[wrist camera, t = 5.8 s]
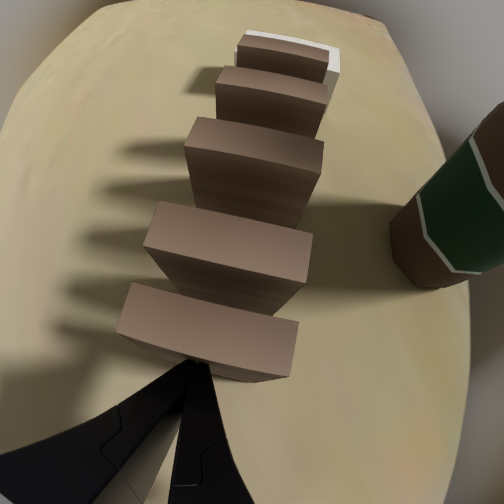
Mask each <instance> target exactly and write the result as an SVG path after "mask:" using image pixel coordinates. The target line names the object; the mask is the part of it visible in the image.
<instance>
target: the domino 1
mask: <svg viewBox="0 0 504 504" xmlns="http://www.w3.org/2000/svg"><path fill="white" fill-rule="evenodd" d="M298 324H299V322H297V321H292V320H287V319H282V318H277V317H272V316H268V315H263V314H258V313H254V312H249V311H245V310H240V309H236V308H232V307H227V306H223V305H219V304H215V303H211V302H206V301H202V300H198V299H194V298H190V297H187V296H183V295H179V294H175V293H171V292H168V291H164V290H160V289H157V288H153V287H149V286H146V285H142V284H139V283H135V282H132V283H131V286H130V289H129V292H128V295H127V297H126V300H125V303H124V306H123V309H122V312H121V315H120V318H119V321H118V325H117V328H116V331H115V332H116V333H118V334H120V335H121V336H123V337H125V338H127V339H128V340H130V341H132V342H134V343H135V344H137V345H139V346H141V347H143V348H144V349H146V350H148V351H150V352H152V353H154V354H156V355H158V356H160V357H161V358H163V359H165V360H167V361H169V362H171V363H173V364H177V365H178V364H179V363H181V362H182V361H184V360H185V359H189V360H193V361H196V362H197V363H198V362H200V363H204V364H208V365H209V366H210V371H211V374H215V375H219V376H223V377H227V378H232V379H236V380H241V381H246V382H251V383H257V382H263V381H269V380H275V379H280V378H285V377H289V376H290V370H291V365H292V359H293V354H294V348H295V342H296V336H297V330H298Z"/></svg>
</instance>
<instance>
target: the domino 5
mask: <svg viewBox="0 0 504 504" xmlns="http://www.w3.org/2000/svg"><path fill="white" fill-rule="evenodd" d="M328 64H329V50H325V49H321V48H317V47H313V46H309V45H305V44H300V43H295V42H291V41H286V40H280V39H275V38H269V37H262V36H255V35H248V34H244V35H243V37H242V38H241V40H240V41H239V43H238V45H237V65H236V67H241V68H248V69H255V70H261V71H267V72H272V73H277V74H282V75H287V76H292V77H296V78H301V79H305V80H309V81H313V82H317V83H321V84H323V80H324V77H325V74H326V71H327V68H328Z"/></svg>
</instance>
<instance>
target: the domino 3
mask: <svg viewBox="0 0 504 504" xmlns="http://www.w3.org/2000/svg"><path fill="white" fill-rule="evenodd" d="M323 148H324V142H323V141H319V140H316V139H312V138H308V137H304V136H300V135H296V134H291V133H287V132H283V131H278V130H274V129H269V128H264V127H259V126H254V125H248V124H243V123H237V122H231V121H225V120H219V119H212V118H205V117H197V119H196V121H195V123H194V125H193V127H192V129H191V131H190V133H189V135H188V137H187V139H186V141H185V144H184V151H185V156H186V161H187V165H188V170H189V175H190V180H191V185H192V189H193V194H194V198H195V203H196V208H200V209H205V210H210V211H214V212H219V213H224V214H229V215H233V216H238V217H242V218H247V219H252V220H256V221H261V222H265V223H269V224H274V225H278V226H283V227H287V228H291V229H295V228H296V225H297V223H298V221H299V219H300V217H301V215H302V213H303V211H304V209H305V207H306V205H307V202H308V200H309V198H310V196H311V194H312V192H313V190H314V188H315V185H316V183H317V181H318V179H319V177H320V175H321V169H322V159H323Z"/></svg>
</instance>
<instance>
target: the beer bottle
mask: <svg viewBox="0 0 504 504" xmlns="http://www.w3.org/2000/svg"><path fill="white" fill-rule="evenodd" d="M390 231H391V240H392V249H393V259H394V260H395V262H396V263H397V264H398V265H399V266H400V267H401V269H402V270H403V271H404V272H405V273H406V274H407V276H408V277H409V278H410V279H411V280H412V282H413V283H414V284H415V285H416V286H418V287H437V288H446V287H449V286H452V285H455V284H458V283H461V282H463V281H465V280H468V279H470V278H472V277H474V276H476V275H479V274H481V273H483V272H485V271H488V270H490V269H492V268H494V267H496V266H498V265H500V264H502V263H504V102H502V103H500V104H498V105H497V106H496V107H495V108H494V109H493V111H491V112H490V113H489V114H488V115H487V117H486V118H484V119H483V120H482V122H481V123H480V124H479V125H478V126H477V127H476V128H475V130H474V131H473V132H472V133H471V134H470V135H469V137H468V138H467V139H466V140H465V141H464V142H463V143H462V145H461V146H460V147H459V148H458V149H457V150H456V151H455V152H454V154H453V155H452V156H451V157H450V158H449V159H448V160H447V161H446V162H445V163H444V164H443V165H442V166H441V168H440V169H439V170H438V171H437V172H436V173H435V174H434V175H433V176H432V177H431V178H430V179H429V180H428V181H427V182H426V183H425V184H424V185H423V186H422V187H421V188H420V189H419V190H418V191H417V193H416V194H415V195H414V196H413V197H412V198H411V200H410V201H409V202H408V203H407V204H406V205H405V207H404V208H403V209H402V210H401V211H400V212H399V213H398V214H397V216H396V217H395V218H394V219H393V220H392V221H391V222H390Z"/></svg>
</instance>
